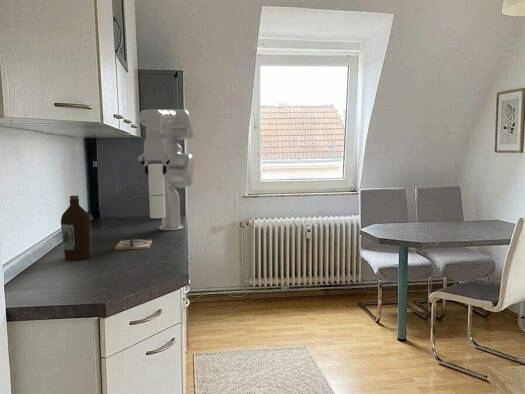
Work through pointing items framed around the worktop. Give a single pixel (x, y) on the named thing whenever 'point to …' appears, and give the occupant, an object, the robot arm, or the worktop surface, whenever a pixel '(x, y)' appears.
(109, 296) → the worktop surface
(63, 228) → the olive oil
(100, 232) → the worktop surface
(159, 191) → the cylindrical container
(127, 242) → the locking base
